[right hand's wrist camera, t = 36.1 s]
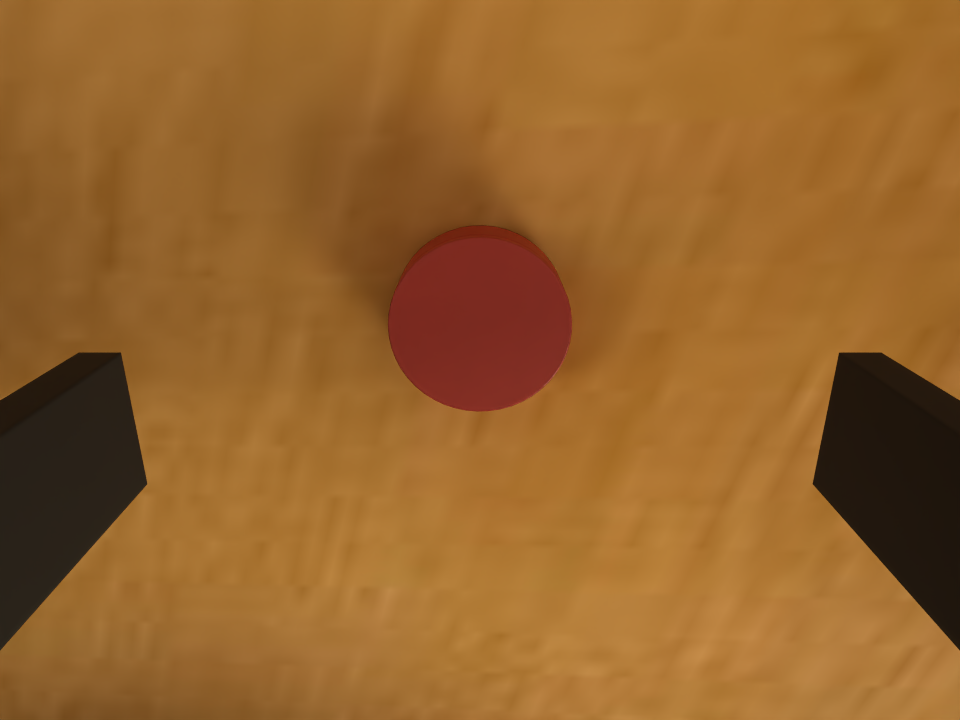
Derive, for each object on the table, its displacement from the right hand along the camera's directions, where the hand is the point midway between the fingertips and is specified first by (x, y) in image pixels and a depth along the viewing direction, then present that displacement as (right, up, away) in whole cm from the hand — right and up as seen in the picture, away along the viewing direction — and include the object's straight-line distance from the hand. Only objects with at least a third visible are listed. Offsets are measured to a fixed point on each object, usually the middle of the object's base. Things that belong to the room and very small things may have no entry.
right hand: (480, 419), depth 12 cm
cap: (0, +2, +4) cm, 4 cm away
